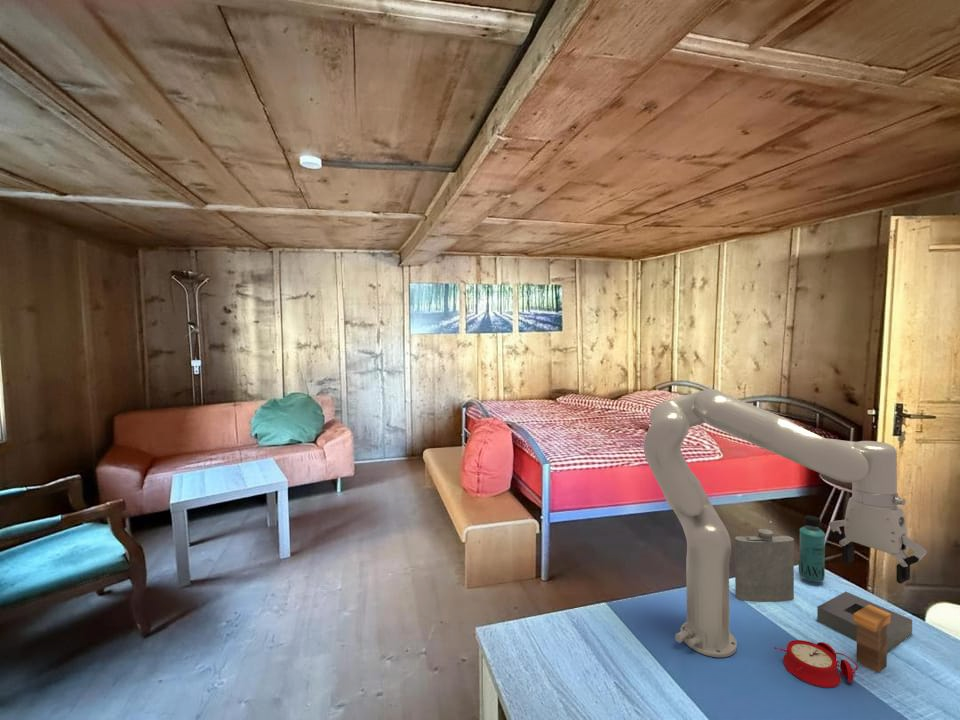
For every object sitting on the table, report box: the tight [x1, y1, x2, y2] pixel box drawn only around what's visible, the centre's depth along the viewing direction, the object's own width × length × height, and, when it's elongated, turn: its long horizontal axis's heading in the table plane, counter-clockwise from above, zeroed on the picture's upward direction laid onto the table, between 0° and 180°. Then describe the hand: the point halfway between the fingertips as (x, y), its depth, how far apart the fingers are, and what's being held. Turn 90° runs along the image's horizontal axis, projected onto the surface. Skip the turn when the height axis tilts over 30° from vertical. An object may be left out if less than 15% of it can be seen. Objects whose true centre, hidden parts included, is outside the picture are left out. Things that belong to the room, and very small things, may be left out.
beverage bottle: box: [798, 515, 826, 583], centre depth 134 cm, size 6×7×20 cm
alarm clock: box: [774, 639, 859, 689], centre depth 100 cm, size 10×6×15 cm
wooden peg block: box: [853, 605, 891, 674], centre depth 101 cm, size 7×4×12 cm, turn 116°
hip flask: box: [734, 528, 795, 603], centre depth 127 cm, size 16×4×20 cm, turn 87°
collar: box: [816, 591, 913, 654], centre depth 113 cm, size 14×14×4 cm
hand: (874, 571), depth 100 cm, fingers open, 9 cm apart
